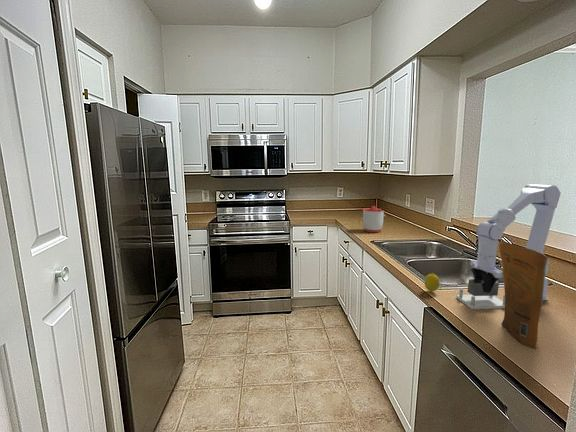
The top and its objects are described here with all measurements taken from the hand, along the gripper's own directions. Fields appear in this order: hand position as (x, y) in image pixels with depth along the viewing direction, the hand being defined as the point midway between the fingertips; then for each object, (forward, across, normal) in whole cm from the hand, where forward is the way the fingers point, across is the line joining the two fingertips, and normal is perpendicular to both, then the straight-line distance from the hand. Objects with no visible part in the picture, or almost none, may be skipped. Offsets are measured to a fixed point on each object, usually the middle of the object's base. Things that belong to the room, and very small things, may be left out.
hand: (483, 289), depth 120 cm
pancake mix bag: (+5, +22, -4) cm, 23 cm away
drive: (+2, 0, 0) cm, 2 cm away
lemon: (+5, -11, -14) cm, 19 cm away
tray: (+5, 0, 0) cm, 5 cm away
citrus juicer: (+5, -126, 0) cm, 126 cm away
